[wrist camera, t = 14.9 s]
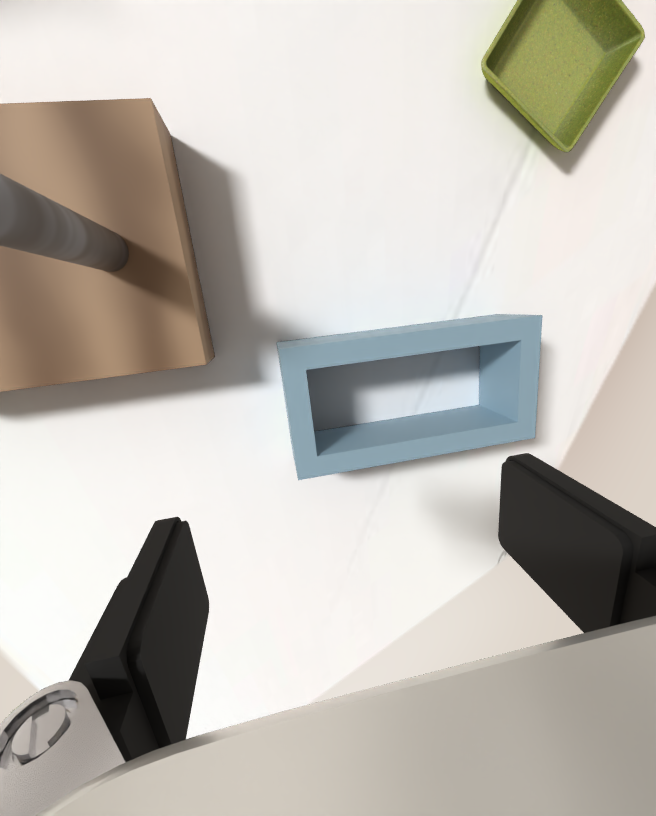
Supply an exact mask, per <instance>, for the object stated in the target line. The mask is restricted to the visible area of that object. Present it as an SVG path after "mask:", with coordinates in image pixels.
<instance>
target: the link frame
mask: <svg viewBox="0 0 656 816" xmlns="http://www.w3.org/2000/svg"><path fill="white" fill-rule="evenodd" d="M541 328H542V315H507V314H495V315H488V316H480V317H472V318H464V319H456V320H448V321H440V322H432V323H424V324H417V325H409V326H401V327H393V328H385V329H377V330H369V331H361V332H353V333H346V334H338V335H330V336H322V337H314V338H306V339H298V340H290V341H282V342H277V349H278V355H279V362H280V369H281V375H282V382H283V389H284V396H285V402H286V409H287V416H288V422H289V429H290V436H291V443H292V449H293V455H294V460H295V466H296V471H297V476H298V480H302V479H307V478H313V477H318V476H324V475H330V474H335V473H341V472H346V471H352V470H358V469H363V468H369V467H375V466H380V465H386V464H391V463H397V462H403V461H408V460H414V459H419V458H425V457H431V456H436V455H442V454H447V453H453V452H459V451H464V450H470V449H475V448H481V447H487V446H492V445H498V444H503V443H509V442H515V441H520V440H526V439H531V438H535V430H536V413H537V396H538V379H539V362H540V345H541ZM475 346H480V364H479V405H476V406H469V407H463V408H457V409H451V410H445V411H438V412H432V413H426V414H420V415H414V416H408V417H401V418H395V419H389V420H383V421H377V422H370V423H364V424H358V425H352V426H346V427H339V428H333V429H327V430H321V431H315V432H314V428H313V420H312V413H311V405H310V397H309V389H308V381H307V374H306V370H309V369H316V368H323V367H330V366H338V365H345V364H352V363H359V362H367V361H374V360H381V359H388V358H395V357H403V356H410V355H417V354H424V353H432V352H439V351H446V350H453V349H461V348H468V347H475Z"/></svg>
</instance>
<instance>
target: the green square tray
mask: <svg viewBox="0 0 656 816" xmlns="http://www.w3.org/2000/svg"><path fill="white" fill-rule="evenodd" d="M644 38H645V34H644V30H643V28H642V26H641V24H640V23H639V22H638V21H637V20H636V18H635V17H634V15H633V14H632V13H631V12H630V11H629V9H628V8H627V7H626V6H625V4H624V3H623V2H622V0H517V2H516V4H515V5H514V7H513V9H512V10H511V12H510V14H509V16H508V17H507V19H506V20H505V22H504V24H503V25H502V27H501V29H500V31H499V32H498V34H497V35H496V37H495V39H494V40H493V42H492V44H491V45H490V47H489V49H488V50H487V52H486V54H485V55H484V57H483V59H482V62H481V66H482V72H483V74H484V76H485V78H486V79H487V80H488V81H489V82H490V83H491V84H492V85H493V86H494V87H495V88H496V89H497V90H498V91H499V92H500V93H501V94H502V95H503V96H504V97H505V98H506V99H507V100H508V101H509V102H510V103H511V104H512V105H513V106H514V107H515V108H516V109H517V110H518V111H519V112H520V113H521V114H522V115H523V116H524V117H525V118H526V119H527V120H528V121H529V122H530V123H531V124H532V125H533V126H534V127H535V128H536V129H537V130H538V131H539V132H540V133H541V134H542V135H543V136H544V137H545V138H546V139H547V140H548V141H549V142H550V143H551V144H552V145H553V146H554V147H556V148H557V149H559V150H561V151H564V152H567V153H568V152H569V151H571V150H572V148H573V147H574V145H575V144H576V143H577V141H578V140H579V138H580V136H581V135H582V133H583V132H584V130H585V129H586V127H587V126H588V124H589V123H590V121H591V119H592V118H593V116H594V115H595V113H596V112H597V110H598V108H599V107H600V105H601V104H602V102H603V101H604V99H605V98H606V96H607V95H608V93H609V92H610V90H611V89H612V87H613V85H614V84H615V82H616V81H617V80H618V78H619V76H620V75H621V73H622V72H623V70H624V69H625V67H626V66H627V64H628V63H629V62H630V60H631V59H632V57H633V55H634V54H635V52H636V51H637V49H638V48H639V46H640V45H641V43H642V42H643V40H644Z"/></svg>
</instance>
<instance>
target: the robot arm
mask: <svg viewBox="0 0 656 816" xmlns="http://www.w3.org/2000/svg"><path fill="white" fill-rule="evenodd" d="M498 537H499V541H500V544H501V546H502V547H503V548H504V550H505V551H506V552H507V553H508V554H509V555H510V556H511V557H512V558H513V559H514V560H515V561H516V562H517V563H518V564H519V565H520V566H521V567H522V568H523V569H524V570H525V572H526V573H527V574H528V575H529V576H530V577H531V578H532V579H533V580H534V581H535V582H536V583H537V584H538V585H539V586H540V587H541V588H542V589H543V590H544V591H545V593H546V594H547V595H548V596H549V597H550V598H551V599H552V600H553V601H554V602H555V603H556V604H557V605H558V606H559V607H560V608H561V609H562V610H563V611H564V612H565V613H566V615H568V617H569V618H570V619H571V620H572V621H573V622H574V623H575V624H576V625H577V626H578V627H579V628H580V629H581V630H582V631H583V632H584V633H583V634H579V635H575V636H571V637H567V638H563V639H559V640H555V641H551V642H547V643H543V644H539V645H535V646H531V647H527V648H524V649H520V650H516V651H512V652H508V653H504V654H501V655H496V656H492V657H488V658H485V659H481V660H477V661H473V662H469V663H465V664H462V665H458V666H454V667H450V668H446V669H442V670H438V671H434V672H431V673H427V674H423V675H419V676H415V677H411V678H408V679H404V680H400V681H396V682H392V683H388V684H384V685H381V686H377V687H373V688H369V689H366V690H362V691H358V692H354V693H350V694H347V695H343V696H339V697H335V698H332V699H328V700H324V701H321V702H316V703H313V704H309V705H305V706H301V707H298V708H294V709H290V710H286V711H282V712H279V713H275V714H272V715H268V716H265V717H261V718H258V719H254V720H251V721H247V722H244V723H240V724H237V725H233V726H230V727H226V728H223V729H219V730H216V731H212V732H209V733H205V734H202V735H198V736H195V737H192V738H189V739H186V735H187V729H188V724H189V718H190V713H191V707H192V702H193V696H194V691H195V685H196V679H197V674H198V668H199V663H200V657H201V652H202V646H203V641H204V635H205V630H206V624H207V619H208V613H209V599H208V595H207V591H206V587H205V584H204V580H203V576H202V572H201V569H200V565H199V561H198V557H197V554H196V550H195V546H194V542H193V538H192V535H191V531H190V527H189V524H188V522H187V521H182V522H181V520H180V518H179V517H174V518H169V519H163V520H158V521H155V523H154V524H153V526H152V528H151V530H150V532H149V534H148V537H147V539H146V541H145V543H144V545H143V547H142V549H141V551H140V553H139V555H138V557H137V559H136V561H135V563H134V565H133V567H132V569H131V571H130V573H129V575H128V577H127V578H124V579H123V580H121V582H120V583H119V584H118V586H117V588H116V590H115V592H114V594H113V596H112V598H111V599H110V601H109V603H108V605H107V607H106V609H105V611H104V613H103V615H102V617H101V619H100V621H99V623H98V625H97V627H96V629H95V630H94V632H93V634H92V636H91V638H90V640H89V642H88V644H87V646H86V648H85V650H84V652H83V654H82V656H81V658H80V660H79V661H78V663H77V665H76V667H75V669H74V671H73V673H72V675H71V677H70V679H69V681H64V682H58V683H56V684H53V685H51V686H48V687H46V688H44V689H42V690H40V691H39V692H37V693H35V694H34V695H32V696H30V697H29V698H28V699H26V700H25V701H24V702H23V703H21V704H20V705H19V706H18V707H16V708H15V709H14V710H13V711H12V712H11V713H10V714H9V715H8V716H7V717H6V718H5V719H4V720H3V721H2V723H1V724H0V816H656V527H654V526H653V525H651V524H649V523H648V522H646V521H644V520H642V519H641V518H639V517H637V516H636V515H634V514H632V513H630V512H629V511H627V510H625V509H623V508H622V507H620V506H618V505H617V504H615V503H613V502H612V501H610V500H608V499H606V498H605V497H603V496H601V495H600V494H598V493H596V492H594V491H593V490H591V489H589V488H588V487H586V486H584V485H583V484H581V483H579V482H577V481H576V480H574V479H572V478H570V477H569V476H567V475H565V474H564V473H562V472H560V471H559V470H557V469H555V468H553V467H552V466H550V465H548V464H547V463H545V462H543V461H541V460H540V459H538V458H536V457H535V456H533V455H531V454H529V453H525V454H520V455H514V456H509V457H508V458H507V459H506V462H504V463H503V464H502V472H501V492H500V512H499V532H498Z"/></svg>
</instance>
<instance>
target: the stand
mask: <svg viewBox="0 0 656 816" xmlns="http://www.w3.org/2000/svg"><path fill="white" fill-rule="evenodd" d="M214 357H215V355H214V350H213V345H212V340H211V335H210V330H209V325H208V320H207V315H206V310H205V305H204V300H203V295H202V290H201V285H200V280H199V275H198V270H197V265H196V260H195V255H194V250H193V245H192V240H191V235H190V230H189V225H188V220H187V215H186V210H185V205H184V200H183V195H182V190H181V185H180V180H179V175H178V170H177V165H176V160H175V155H174V150H173V145H172V140H171V135H170V133H169V131H168V129H167V127H166V125H165V124H164V122H163V120H162V118H161V116H160V114H159V112H158V111H157V109H156V107H155V105H154V103H153V101H152V100H151V98H144V99H117V100H90V101H62V102H35V103H8V104H0V392H2V391H10V390H17V389H25V388H33V387H40V386H48V385H55V384H63V383H71V382H78V381H86V380H93V379H101V378H108V377H116V376H124V375H131V374H139V373H146V372H154V371H161V370H169V369H177V368H184V367H192V366H199V365H206V364H207V363H209V362H210V361H211V360H212V359H213V358H214Z"/></svg>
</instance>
